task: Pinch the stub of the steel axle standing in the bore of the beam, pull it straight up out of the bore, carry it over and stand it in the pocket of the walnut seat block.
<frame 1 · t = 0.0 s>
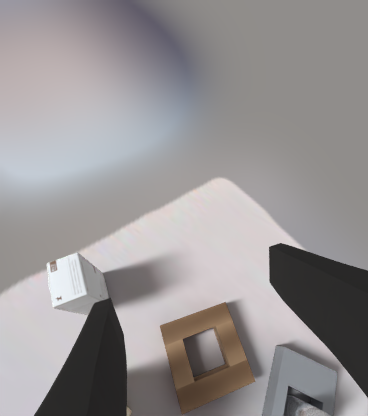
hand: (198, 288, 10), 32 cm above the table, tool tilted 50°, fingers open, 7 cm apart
bored beam: (292, 408, 34), on the table
walnut seat block: (203, 350, 36), on the table
skincare box: (93, 292, 40), on the table
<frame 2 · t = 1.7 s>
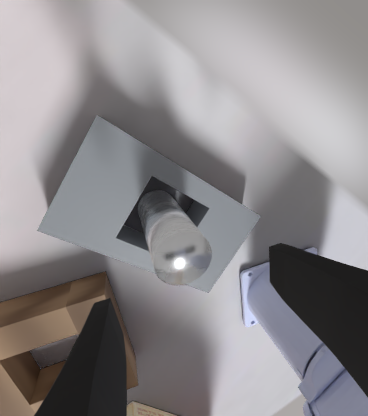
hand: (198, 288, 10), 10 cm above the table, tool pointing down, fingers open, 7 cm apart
bored beam: (157, 208, 19), on the table
walnut seat block: (61, 338, 21), on the table
metal axle: (167, 228, 16), in the bored beam
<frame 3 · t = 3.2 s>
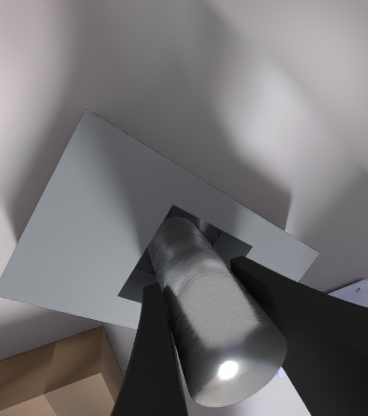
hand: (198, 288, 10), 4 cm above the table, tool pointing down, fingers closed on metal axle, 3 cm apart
bored beam: (174, 241, 14), on the table
walnut seat block: (43, 412, 15), on the table
metal axle: (195, 282, 10), in the bored beam, touching gripper
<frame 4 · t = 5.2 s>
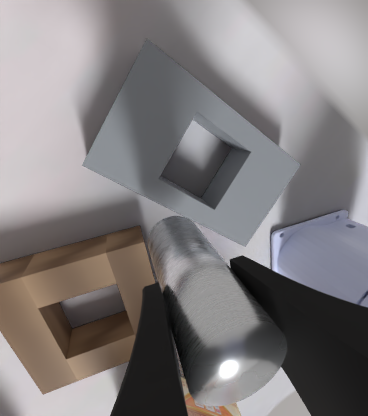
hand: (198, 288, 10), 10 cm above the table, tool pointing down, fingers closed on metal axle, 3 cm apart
bored beam: (193, 158, 19), on the table
walnut seat block: (93, 296, 20), on the table
metal axle: (195, 281, 10), point 10 cm above the table, touching gripper
coffeecake box: (182, 400, 29), on the table
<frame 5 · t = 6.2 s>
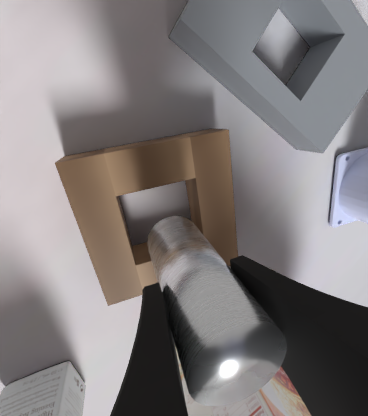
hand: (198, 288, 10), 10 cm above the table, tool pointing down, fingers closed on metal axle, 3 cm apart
bored beam: (271, 54, 18), on the table
walnut seat block: (157, 208, 19), on the table
metal axle: (195, 281, 10), point 10 cm above the table, touching gripper
skincare box: (47, 383, 22), on the table
coffeecake box: (228, 346, 28), on the table
when the fingers open (6 cm above the table, at t = 7.2 s): metal axle drops 1 cm, resting in walnut seat block.
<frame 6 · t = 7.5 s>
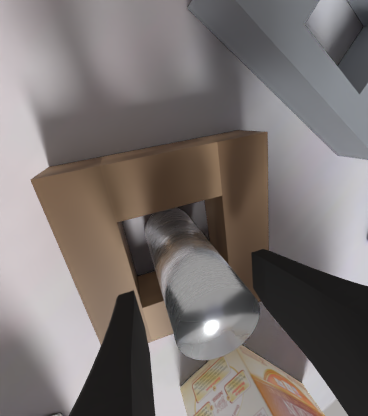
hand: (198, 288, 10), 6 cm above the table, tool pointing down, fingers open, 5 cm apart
bored beam: (316, 35, 14), on the table
walnut seat block: (168, 230, 15), on the table
metal axle: (186, 263, 12), in the walnut seat block
coffeecake box: (247, 382, 24), on the table
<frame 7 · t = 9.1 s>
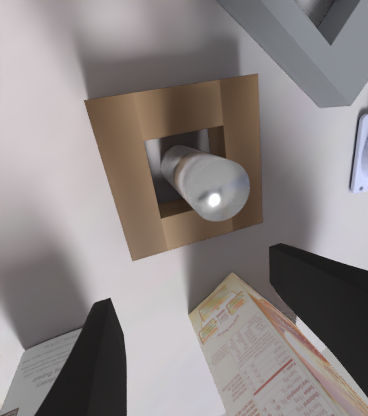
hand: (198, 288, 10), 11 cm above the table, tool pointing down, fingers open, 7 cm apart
bored beam: (298, 2, 17), on the table
walnut seat block: (179, 166, 19), on the table
metal axle: (195, 175, 15), in the walnut seat block
skincare box: (66, 350, 22), on the table
coffeecake box: (246, 319, 28), on the table
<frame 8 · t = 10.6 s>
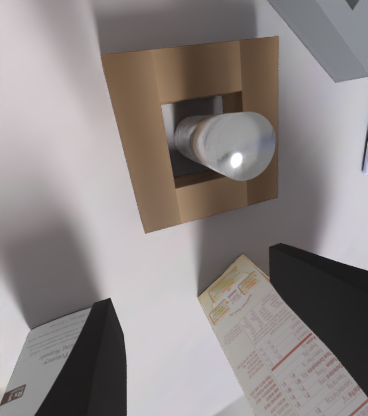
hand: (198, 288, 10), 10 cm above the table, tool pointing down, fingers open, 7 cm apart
walnut seat block: (193, 138, 18), on the table
metal axle: (213, 141, 15), in the walnut seat block
skincare box: (72, 331, 21), on the table
coffeecake box: (255, 304, 27), on the table
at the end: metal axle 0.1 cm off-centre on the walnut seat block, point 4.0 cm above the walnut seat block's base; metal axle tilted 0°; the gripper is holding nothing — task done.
